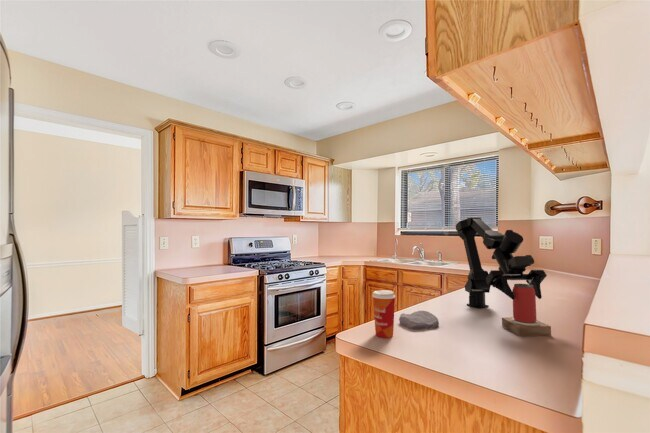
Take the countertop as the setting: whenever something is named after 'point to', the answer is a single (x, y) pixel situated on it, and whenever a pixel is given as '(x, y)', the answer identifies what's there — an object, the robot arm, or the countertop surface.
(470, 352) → the countertop surface
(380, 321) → the paper cup
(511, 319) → the walnut pedestal
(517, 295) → the beer can
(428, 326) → the stone block
